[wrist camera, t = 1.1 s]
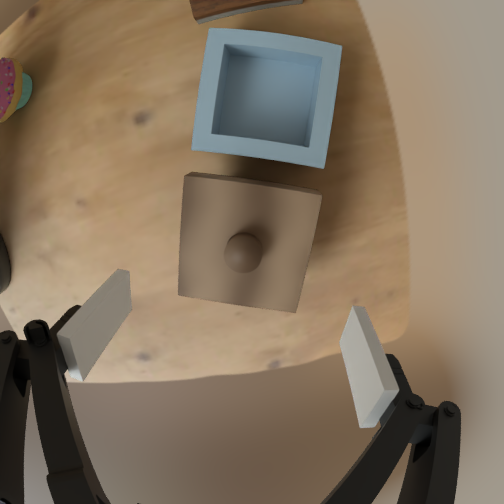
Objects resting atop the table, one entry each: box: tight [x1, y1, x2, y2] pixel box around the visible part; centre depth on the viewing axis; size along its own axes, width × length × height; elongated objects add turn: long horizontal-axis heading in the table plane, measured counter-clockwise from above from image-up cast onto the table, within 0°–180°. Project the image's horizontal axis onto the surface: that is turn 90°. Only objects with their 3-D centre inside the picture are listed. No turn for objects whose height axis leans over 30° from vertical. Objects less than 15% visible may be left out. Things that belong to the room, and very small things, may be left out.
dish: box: [191, 28, 342, 169], centre depth 23 cm, size 11×11×5 cm
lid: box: [178, 172, 322, 313], centre depth 25 cm, size 11×11×4 cm
